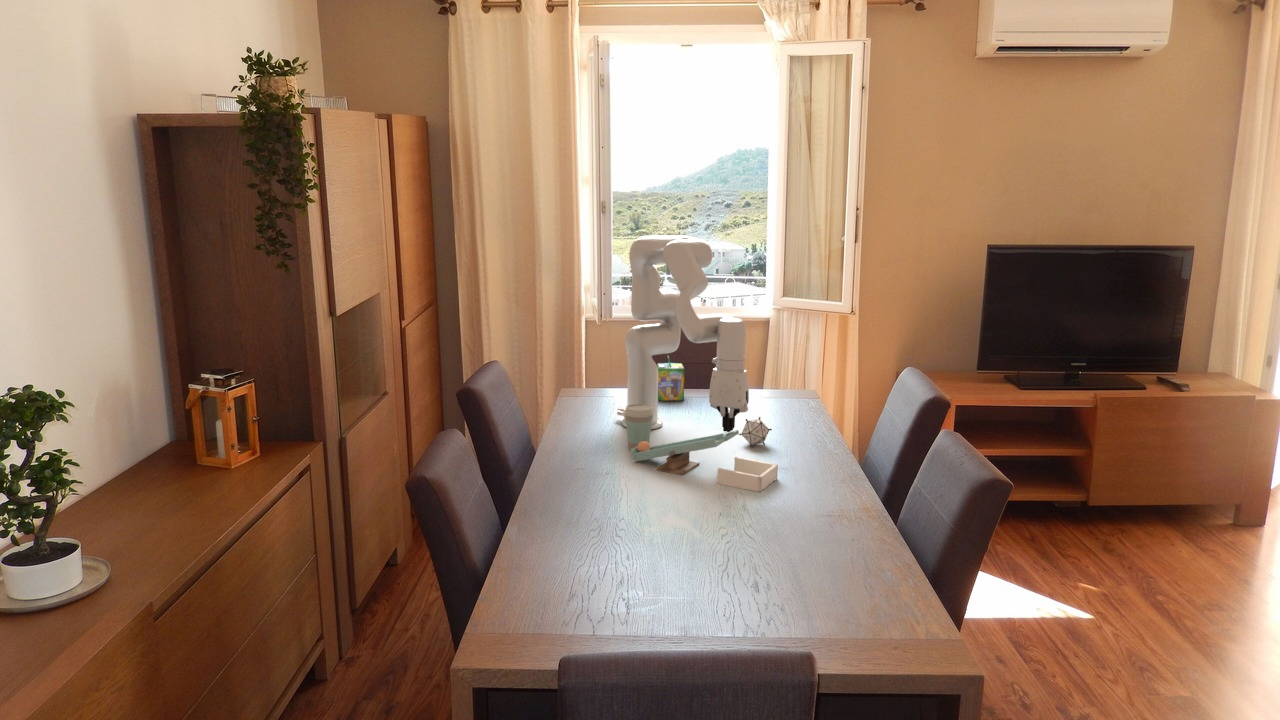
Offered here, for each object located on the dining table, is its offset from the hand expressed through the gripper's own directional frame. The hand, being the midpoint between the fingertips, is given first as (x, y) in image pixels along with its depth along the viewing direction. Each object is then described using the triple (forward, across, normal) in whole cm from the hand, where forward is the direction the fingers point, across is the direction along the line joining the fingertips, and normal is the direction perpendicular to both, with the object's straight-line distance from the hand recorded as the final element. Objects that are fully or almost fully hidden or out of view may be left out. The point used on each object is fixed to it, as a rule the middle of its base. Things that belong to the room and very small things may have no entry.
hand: (728, 430), depth 257 cm
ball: (+6, -22, -8) cm, 24 cm away
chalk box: (+10, -47, +56) cm, 73 cm away
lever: (+6, -10, -5) cm, 13 cm away
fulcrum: (+10, -11, -8) cm, 17 cm away
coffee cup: (+10, -29, +2) cm, 31 cm away
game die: (+10, -1, +22) cm, 24 cm away
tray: (+10, +10, -8) cm, 16 cm away
